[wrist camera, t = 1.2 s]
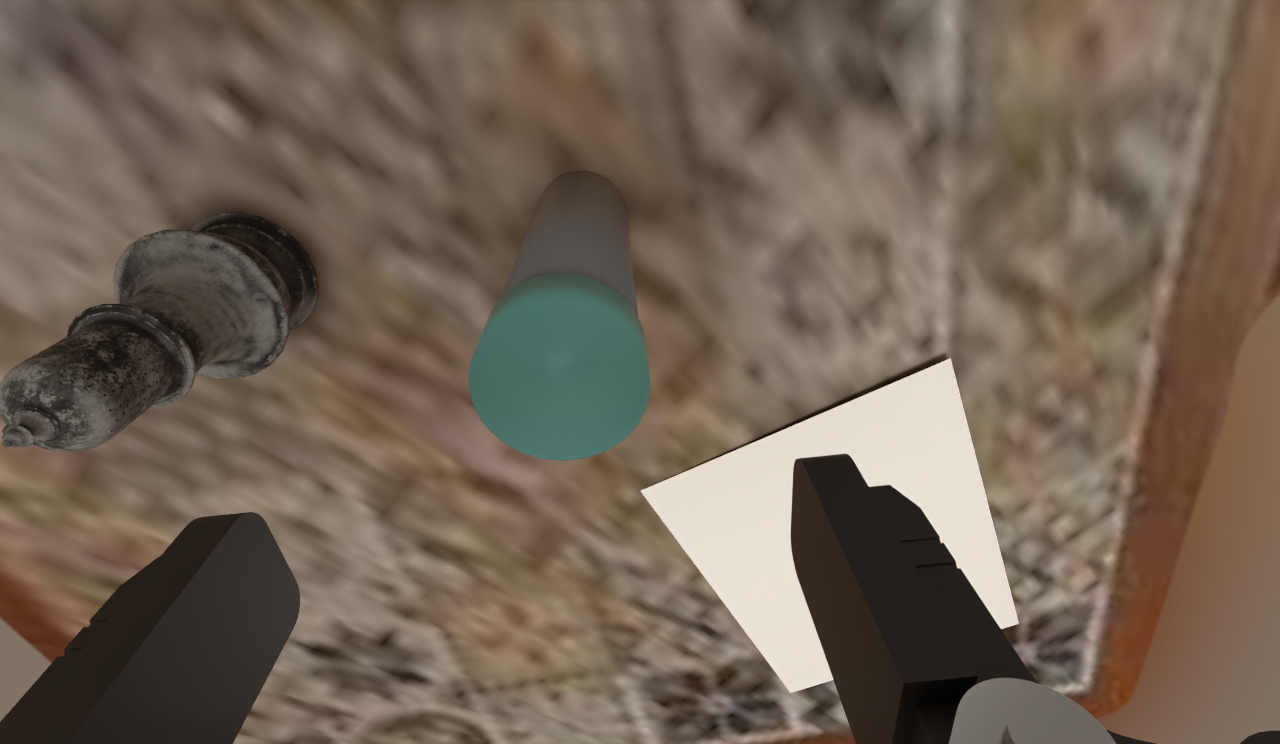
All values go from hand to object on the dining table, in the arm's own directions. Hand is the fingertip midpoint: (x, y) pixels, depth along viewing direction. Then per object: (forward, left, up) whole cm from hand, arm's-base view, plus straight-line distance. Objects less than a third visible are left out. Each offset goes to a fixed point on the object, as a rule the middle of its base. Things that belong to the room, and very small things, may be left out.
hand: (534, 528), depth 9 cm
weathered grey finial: (+1, -14, -18) cm, 23 cm away
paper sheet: (+23, +7, -19) cm, 30 cm away
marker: (0, 0, -18) cm, 18 cm away
